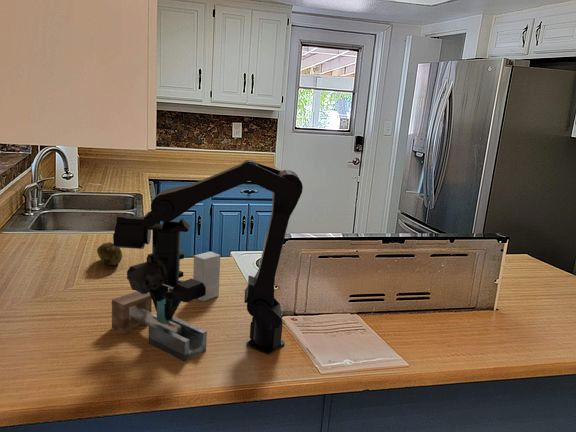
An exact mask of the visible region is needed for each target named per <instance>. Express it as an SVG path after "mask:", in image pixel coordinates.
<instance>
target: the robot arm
mask: <svg viewBox="0 0 576 432" xmlns="http://www.w3.org/2000/svg"><path fill="white" fill-rule="evenodd" d="M248 182H250V183H253V184H255V185H257V186H260V187H261V188H263V189H265V190H266V191H268V192H272V198H271V199H272V200H271V201H272V202H271V203H272V204H271V205H272V206H271V207H272V208H271V214H270V215H271V216H270V217H269V218H270V219H269V223H268V227H267V232H266V237H265V239H264V240H265V241H264V243H263V244H264V245H263V248H262V252H261V257H260V261H259V265H258V270H257V272H256V273H255V275H254V276H252V275H248V277H247V279H248V280H247V286H246V288H245V289H244V304H246V311H247V313H249V315H250V316H251V317H252V318H251V322H250V325H249V326H250V328H249V340H248V341H245V342H246V343H245V345H246V346H249V347H250V348H253V349H255V350H258V351H260V352H262V353H264V354H266V355H269V354H271V353H273V352H275V351H277V350H278V349H280V348H281V347H283V346H285V343H286V341H284V340H282V337H283V324H284V323H283V322H284V321H283V315H282V308H281V304H280V302H279V301H278V300H277V299H276V298H275V281H276V280H275V279H276V278H275V277H276V273H277V270H278V267H279V266H278V265H279V262H280V258H281V254H282V250H283V245H284V242H285V237H286V234H287V230H288V229H287V228H288V225H289V221H290V218H291V216H292V213H294V211H295V208H296V207H297V205H298V203H299V200H300V198H301V196H302V193H303V188H304V187H303V182H302V181H301V179H300V177H299V176H298V174H297V173H296V172H295V171H293V170H290V169H284V170H279V169H276V168H274V167H271V166H268V165H264V164H261V163H259V162H256V161H255V160H253V159H246V160H243V162H242V163H239V164H236V165H234V166H232V167H230V168H227V169H225V170H223V171H220V172H218V173H215V174H213V175H211V176H209V177H206V178H204V179H202V180H199V181H197V182H195V183H191V184H187V185H186V184H185V185H180V186H175V187H171V188H166V189H163V190H161V191H160V192H159V193H158V194H156V196H155V197H154V198H153V199H152V201H151V203H150V211H147V212H146V214H145V215H144V216H133V215H131V216H130V215H127V214H126V215H125V214H124V215H123V214H119V215H118V216H117V217H116V224H115V226H114V231H113V232H114V233H113V235H112V240H113V241H112V243H114V246H115V247H116V248H120V249H137V250H139V249H140V250H143V249H145V247H146V245H150V244H152V245H151V247H152V248H151V249H152V251H151V253H148V254H147V256H146V261H145V262H142V263H138V264H135V265H131V266H130V267H129V268H128V269H127V271H126V280H128V283H129V285H130V289H131V290H132V291H135V292H136V291H138V292H140V293H141V294H147V293H149V294H150V295H151V298H152V304H153V305H154V308H155V311H156V313H157V301H158V300H161V299H163V298H165V300H166V318H167V320H171V319H172V317H174V315H175V313H176V311H177V309H178V308H179V306H180V304H181V302H183V303H190V302H192V301H194V300H198V299H197V298H200V297H202V296H205V295H206V285H205V284H204V283H202V282H200V281H197V280H194V279H193V278H189V279H186V280H181V279H180V278H183V277H184V271H182V270H180V268H181V267H180V261H181V260H184V259H185V253H182V252H181V233H182V232H183V233H188V232H189V230H190V228H191V224H190V223H188V222H187V221H186V220H185V218H184V217H181V218H180V219H179V220H178V221H174V220H176V219H177V218H178V217H180V216H181V215H182V214H184V213H186V212H187V211H188V210H190V209H191V208H193V207H195V205H197V204H199V203H201V202H204V201H205V200H208V199H210V198H212V197H215V196H217V195H219V194H222V193H225V192H226V191H229V190H232V189H233V188H234V189H235V188H236V187H238V186H241V185H244V184H245V183H248ZM160 222H163V223H160ZM151 239H152V241H151ZM151 242H152V243H151Z"/></svg>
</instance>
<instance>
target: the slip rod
mask: <svg viewBox="0 0 576 432" xmlns="http://www.w3.org/2000/svg"><path fill="white" fill-rule="evenodd" d="M173 317H174V316H173ZM173 317H172V319H171V320H173ZM129 318H131V319H134V320H136V321H138V322H140V323H142V324H144V325H143V326H147V328H149V325H150V324H152V323H154V324H156V325H158V326H161V327H163V328H165V329H167V330H169V331H171V332H174V333H176V334H178V335H181V333H182V326H180V325H178V324H176V323H174V322H171V320H167V318H166V300H165V298H163V299H161V300H158V301H157V312H156V313H153V312H152V311H151V312H149V311H147V310H145V309H142V308H140V307H138V306H136V305H134V306H132V307H129Z"/></svg>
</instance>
